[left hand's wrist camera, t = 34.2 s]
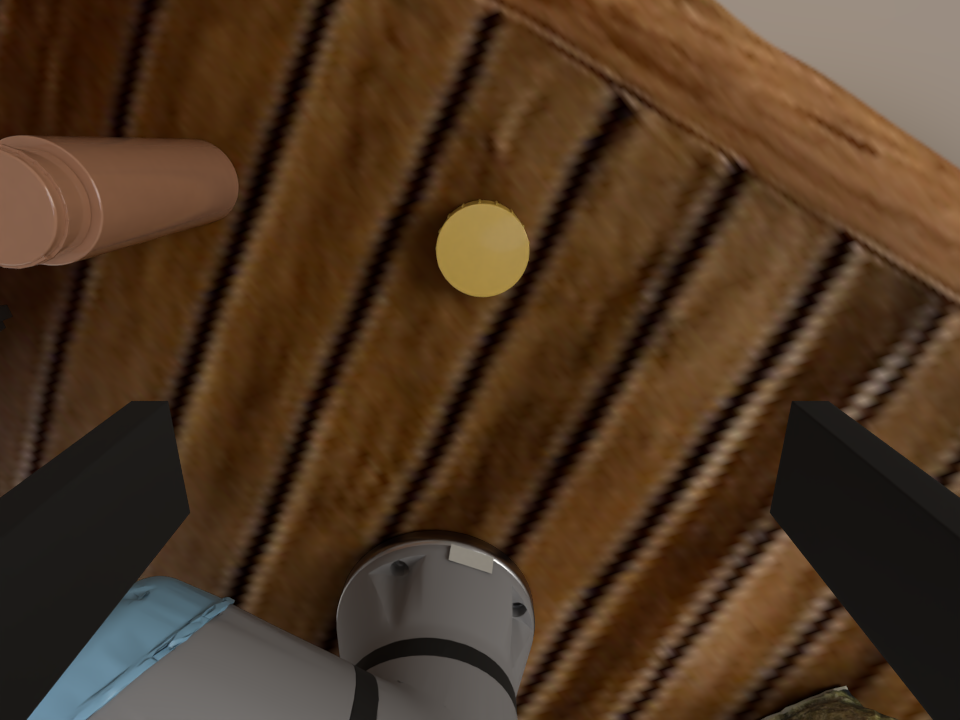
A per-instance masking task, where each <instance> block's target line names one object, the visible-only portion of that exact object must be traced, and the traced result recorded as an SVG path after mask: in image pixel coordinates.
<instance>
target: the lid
mask: <svg viewBox="0 0 960 720" xmlns="http://www.w3.org/2000/svg"><path fill="white" fill-rule="evenodd" d="M523 227H524V225H523V223H522V222H520V221H519V219H518V218H517V216H516V215H515V214H514V213H513V211H512V209H510V210H509V209H508V208H507V207H505V206H503V205H501V204H499V203H498V202H497V201H495V202H493V201H487V200H480V199H479V200H478V201H472V202H469V203H466V204H464V203H463V204H462V206H460V207H458V208H457V209H456V210H454V211H453V212H452V213H451V214H450V213H449V215H448V217H447V219H446V221H445V222H444V224H443V226H442V228H441V227H440V229H439V232H438V233H439V236H438V239H437V244H436V248H435V250H436V257H437V262H438V266H439V268H440V270H441V272H442V274H443V276H444V277H445V279H446V280H447V281H448V282H449V283H450V284H451V285H452V286H453V287H454V288H456V289H457V290H459V291H461V292H463V293H465V294H468V295H471V296H475V297H489V296H494V295H498V294H500V293H503V292H505V291H506V290H508V289H509V288H511V287H512V286H513V285H514V284H515V283H516V282H517V281H518V280H519V279H520V277H521V276H522V274H523V273H524V271H525V268H526V266H527V263H528V261H529V244H530V242H529V240H528V238H527V234H526V232H525V230H524V228H523Z"/></svg>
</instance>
